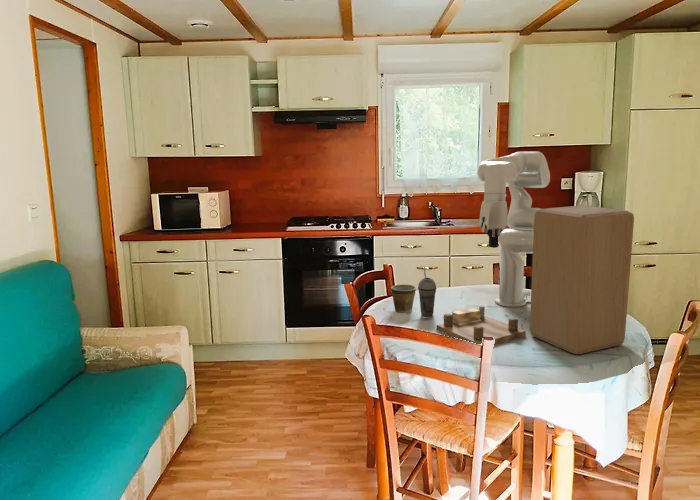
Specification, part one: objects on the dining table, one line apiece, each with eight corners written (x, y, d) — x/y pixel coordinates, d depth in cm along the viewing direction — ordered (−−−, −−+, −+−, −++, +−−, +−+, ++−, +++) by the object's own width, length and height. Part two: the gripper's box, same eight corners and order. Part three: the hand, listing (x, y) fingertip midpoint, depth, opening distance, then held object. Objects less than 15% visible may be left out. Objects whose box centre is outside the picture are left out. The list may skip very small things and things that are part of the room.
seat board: (482, 319, 209) (482, 303, 208) (525, 336, 191) (526, 318, 189) (436, 330, 199) (436, 313, 198) (477, 348, 180) (477, 330, 179)
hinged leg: (474, 316, 206) (474, 308, 205) (479, 319, 203) (480, 310, 202) (452, 320, 202) (452, 311, 201) (457, 323, 199) (457, 314, 198)
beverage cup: (435, 319, 211) (436, 269, 207) (417, 318, 213) (417, 268, 209) (436, 313, 218) (437, 265, 214) (418, 312, 220) (418, 264, 216)
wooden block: (576, 357, 171) (584, 216, 162) (526, 335, 191) (531, 208, 182) (627, 346, 180) (638, 210, 171) (574, 326, 200) (581, 204, 191)
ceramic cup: (420, 312, 220) (420, 288, 218) (399, 316, 216) (399, 292, 214) (403, 304, 232) (403, 281, 230) (383, 307, 227) (383, 284, 225)
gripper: (502, 195, 204) (501, 243, 208) (471, 198, 197) (471, 247, 201) (517, 196, 198) (515, 246, 201) (486, 199, 191) (485, 251, 194)
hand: (493, 246), depth 201 cm, fingers closed
